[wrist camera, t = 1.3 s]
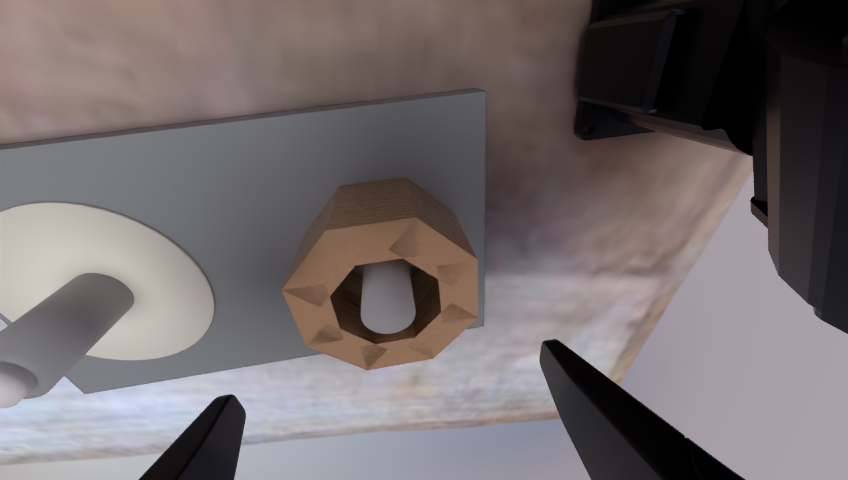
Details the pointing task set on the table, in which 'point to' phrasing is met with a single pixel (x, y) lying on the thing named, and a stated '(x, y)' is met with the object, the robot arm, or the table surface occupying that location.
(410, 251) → the wooden ring
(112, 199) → the board
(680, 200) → the table surface
